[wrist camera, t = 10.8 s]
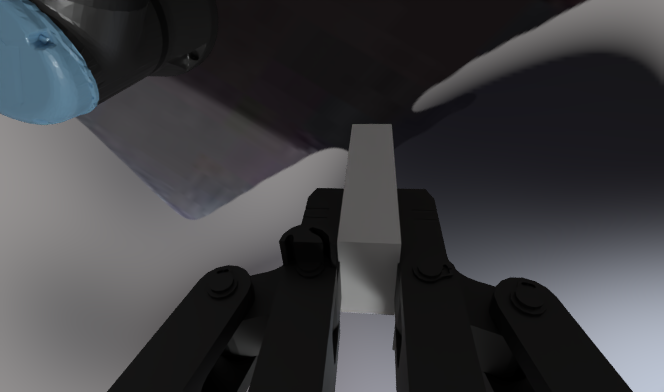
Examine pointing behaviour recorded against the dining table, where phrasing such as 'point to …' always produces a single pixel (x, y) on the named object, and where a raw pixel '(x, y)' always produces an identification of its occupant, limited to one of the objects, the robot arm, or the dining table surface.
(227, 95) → the dining table surface
